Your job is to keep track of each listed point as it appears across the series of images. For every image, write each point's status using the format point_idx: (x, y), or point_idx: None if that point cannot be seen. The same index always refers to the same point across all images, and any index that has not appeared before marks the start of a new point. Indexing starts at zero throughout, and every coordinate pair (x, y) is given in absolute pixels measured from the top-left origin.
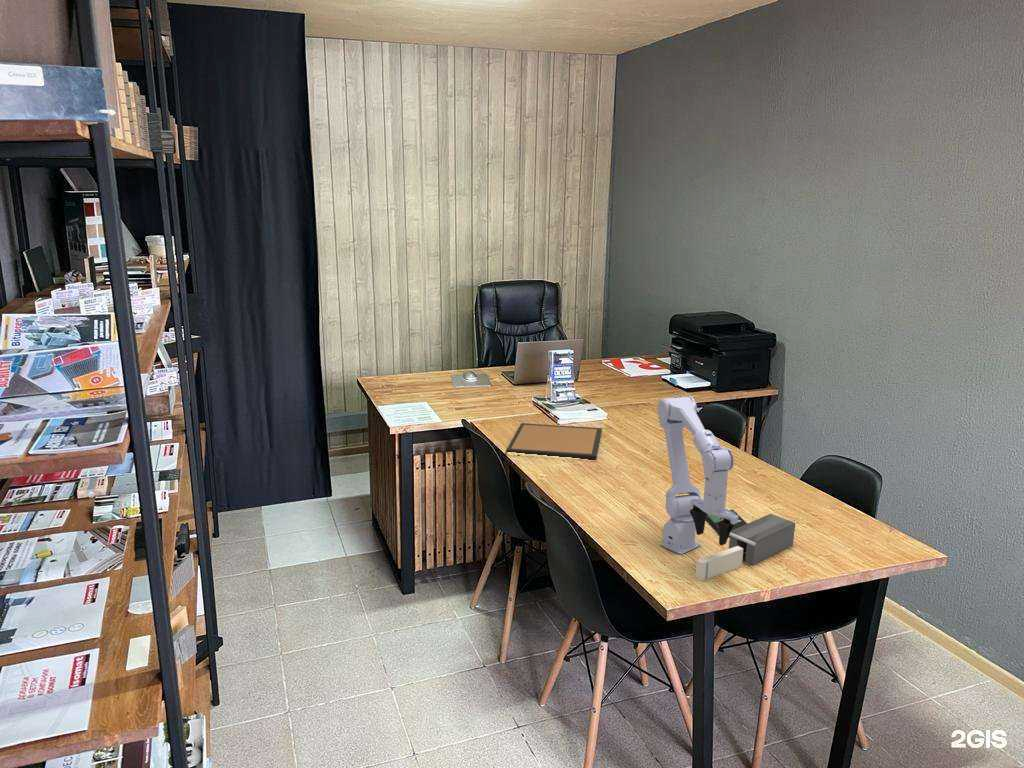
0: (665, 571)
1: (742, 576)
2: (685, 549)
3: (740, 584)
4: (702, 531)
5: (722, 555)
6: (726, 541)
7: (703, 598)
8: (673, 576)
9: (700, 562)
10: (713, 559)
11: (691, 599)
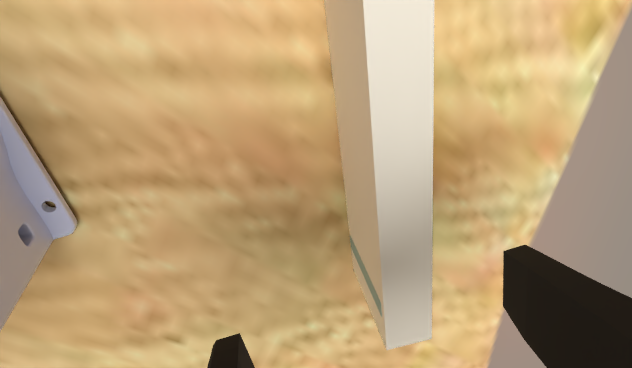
0: None
1: (473, 20)
2: (20, 175)
3: (523, 98)
4: (246, 364)
5: (427, 177)
6: (546, 258)
7: (496, 312)
8: (295, 344)
9: (418, 341)
10: (430, 258)
11: (474, 350)
